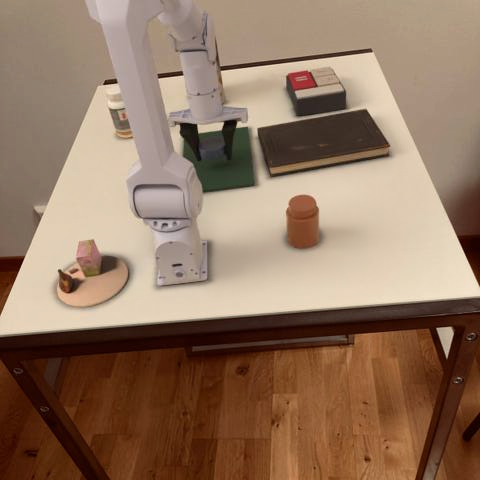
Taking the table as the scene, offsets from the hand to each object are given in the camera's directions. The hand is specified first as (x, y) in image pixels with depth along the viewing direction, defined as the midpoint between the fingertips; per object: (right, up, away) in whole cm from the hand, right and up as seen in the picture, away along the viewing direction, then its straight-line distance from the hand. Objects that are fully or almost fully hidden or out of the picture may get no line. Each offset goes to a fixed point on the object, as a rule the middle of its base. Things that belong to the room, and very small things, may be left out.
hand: (215, 158), depth 99 cm
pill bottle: (-20, +11, +18) cm, 29 cm away
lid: (0, +2, -2) cm, 3 cm away
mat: (0, +1, +5) cm, 5 cm away
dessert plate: (-19, -25, -15) cm, 35 cm away
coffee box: (-3, +21, +24) cm, 32 cm away
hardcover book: (+21, +3, +4) cm, 22 cm away
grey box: (+22, +19, +18) cm, 34 cm away
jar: (+15, -18, -15) cm, 28 cm away
